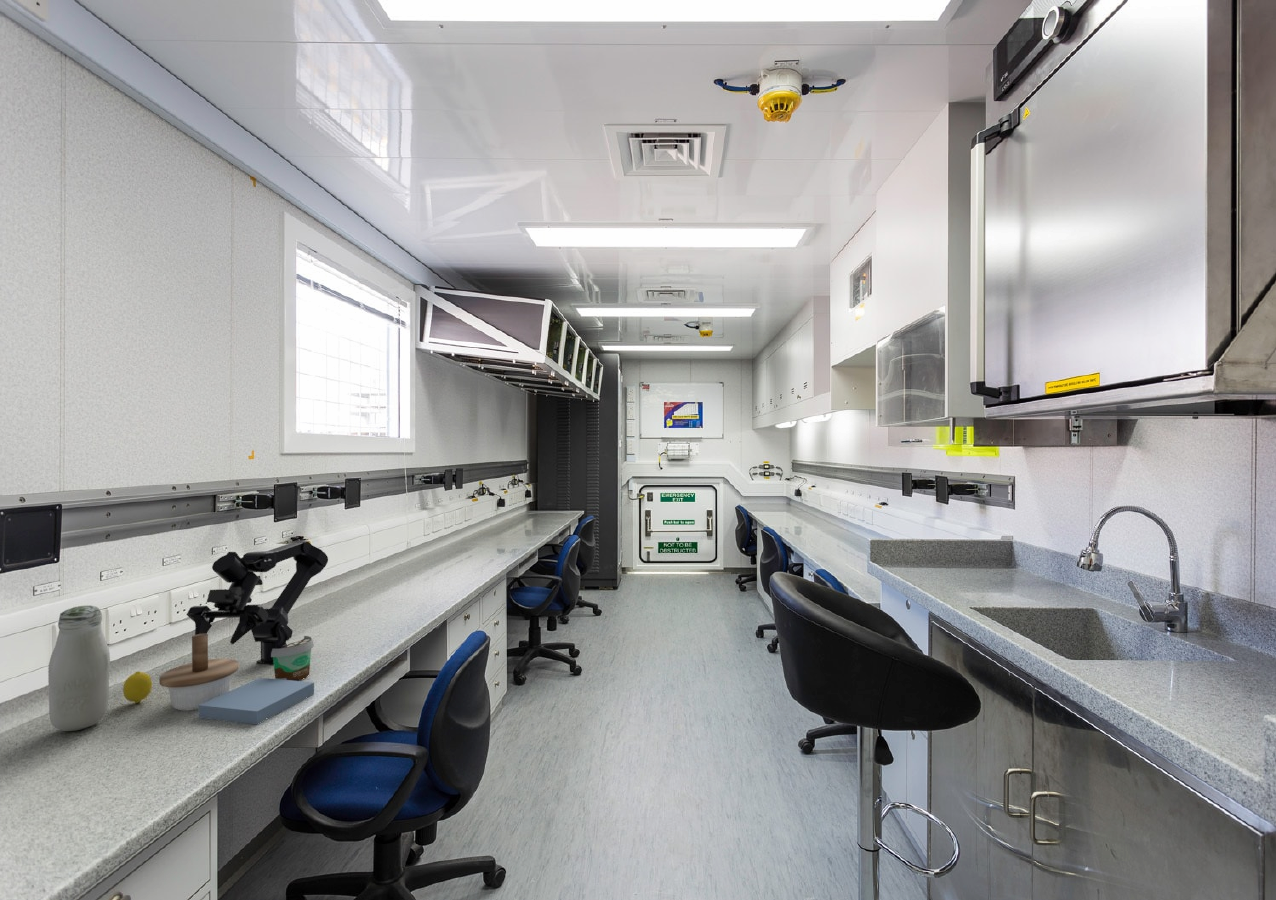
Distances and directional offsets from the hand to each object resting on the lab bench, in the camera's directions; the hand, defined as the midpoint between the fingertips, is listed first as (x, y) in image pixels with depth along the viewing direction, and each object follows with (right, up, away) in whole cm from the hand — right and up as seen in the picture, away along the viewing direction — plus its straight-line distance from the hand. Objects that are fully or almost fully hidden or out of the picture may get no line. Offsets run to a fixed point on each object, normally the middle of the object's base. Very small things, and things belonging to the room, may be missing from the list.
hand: (213, 643), depth 151 cm
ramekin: (0, -13, -5) cm, 14 cm away
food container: (+17, -13, +9) cm, 23 cm away
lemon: (-15, -13, -5) cm, 21 cm away
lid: (0, -6, -5) cm, 8 cm away
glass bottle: (-17, -13, -18) cm, 28 cm away
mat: (+17, -13, -8) cm, 23 cm away
